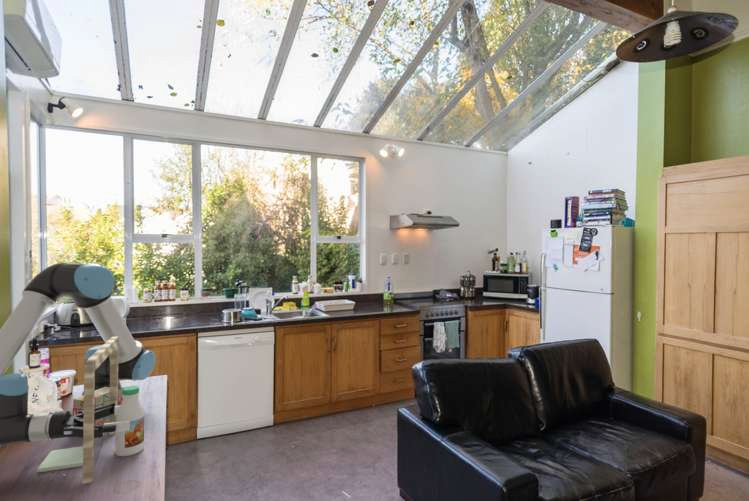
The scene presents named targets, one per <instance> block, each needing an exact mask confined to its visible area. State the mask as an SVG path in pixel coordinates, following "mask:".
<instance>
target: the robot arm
mask: <svg viewBox="0 0 749 501" xmlns="http://www.w3.org/2000/svg"><path fill="white" fill-rule="evenodd" d="M115 281H116V280H115V276H114V274H113V272H112V271H111V270H110V269H109V268H108V267H107V266H105V265H101V264H98V263H97V264H96V263H92V262H88V263H78V262H77V263H76V262H75V263H74V262H58V263H55V264H52V265H49V266H47V267H46V268H44V269H43V270H41V271H40V272H39V273H37V275H35V276H34V277H33V278H32V279H31V280H30V282H29V283H28V284H27V285H26V286H25V288H23V291H22V292H21V296H22V298H21V299H20V301H19V302H18V303H17V305H16V307H15V308H14V309H13V311H12V313H11V314H10V315H9V316H8V318H7V319H6V321H5V322H4V324H3V325H2V326H1V327H0V446H7V445H15V444H22V443H30V442H31V443H32V442H38V443H40V442H42V441H45V440H46V441H47V440H49V439H50V440H54V439H55V440H56V439H63V438H71V437H72V438H83V423H84V410H80V411H78V414H77V415H74V416H73V415H71V411H69V410H63V411H61V410H60V411H54V412H52V411H50V412H49V411H48V412H40V413H29V407H28V406H29V390H30V389H29V381H28V375H27V374H25V373H22V372H18V373H17V372H16V373H14V372H13V373H7V374H5V373H6V372H7V370H8V368H9V367H10V366H11V365H12V363H13V361H14V359H15V358H16V356H17V355H18V354H19V352H20V350H21V349H22V347H23V346H24V345H25V343H26V341H27V340H28V338H29V336H31V334H32V333H33V331H34V329H35V328H36V327H37V325H38V324H39V322H40V321H41V319H42V318H43V316H44V314H45V313H46V311H47V310H48V308H49V307H52V306H54V305H55V304H56V302H57V301H58V300H59V299H60V298H62V297H65V298H71V299H72V301H73V302H74V305H75V306H76V308H78V309H83V310H85V312H86V314H87V315H88V316H89V319H90V320H91V322H92V324H93V325H94V326H95V328H96V330H97V332H98V333H99V335H100V337H101V338H102V340H103V341H104V344H105V343H106V342H107V341H108V340H109V339H110V338H111V337H118V336H119V339H118V389H121V388H123V386H122V384H121V381H120V380H125V381H126V380H129V381H133V382H134V381H143V380H146V379H147V378H149V376H150V375H151V374H152V372H153V370H154V368H155V365H156V360H157V358H156V354H155V352H154V351H153V350H150V349H147V350H146V349H145V348H144V346H143V344H142V343H141V342H140V341H139V340H135V338H134V337H133V335H132V333H131V331H130V330H129V328H128V326H127V324H126V322H125V320H124V319H123V317H122V315H121V314H120V312H119V310H118V307H117V306H116V305H115V302H114V301H113V298H112V296H113V293H114V289H115ZM104 344H100V345H95V346H93V347H92V346H91V348H90V347H89V348H88V349H86V352H85V358H84V362H85V361H87V360H88V359H89V358H90V357H91V356H92V355H93V354H94V353H95V352H96V351H97V350H98V349H99V348H100V347H101V346H103V345H104ZM103 387H110V355H109V356H108V357H107V358H106V359H105V360H104V361H103V363H102V364H101V365H100V366H99V367H98V368H97V369H96V370H95V390H98V389H100V388H103ZM82 395H84V390H82V394H81V396H82ZM119 407H120V406H115V403H112V404H109V405H104V406H100V407H96V408H94V420H97V419H100V418H103V417H106V416H109V415H112V414H114V415H117V412H118V409H119ZM28 413H29V414H28ZM129 430H130V421H121V422H113V423H104V427H103V425H99V424H95V423H94V439H98V438H99V439H101V438H103V437H104V435H103V434H109V433H113V432H121V431H129Z"/></svg>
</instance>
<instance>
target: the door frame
mask: <svg viewBox="0 0 749 501" xmlns="http://www.w3.org/2000/svg"><path fill="white" fill-rule="evenodd" d="M118 339H119V336H118V337H111V338H110V339H109V340H108V341H107V342H106V343H105V342H104V343H103V344H102V345H103V346H101V347H100V348H99V349H98V350H97V351H96V352H95V353H94V354H93V355H92V356H91V357H90V358H89V359H88V360H87V361H85V360H84V364H83V367H84V368H83V391H84V423H83V437H82V439H83V442H82V446H83V466H82V485H85V484H91V483H93V481H94V471H95V469H94V468H95V467H94V462H95V458H94V457H95V438H94V396H95V370H96V369H97V368H98V367H99V366H100V365H101V364H102V363H103V361H104V360H105V359H106V358H107V357H108V356H109V355H110V404H112V403H115V406H118ZM116 416H117V415H114V414H112V415H109V423H113V422H116ZM108 434H109V436H116V432H113V433H108Z"/></svg>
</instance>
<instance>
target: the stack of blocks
mask: <svg viewBox="0 0 749 501" xmlns="http://www.w3.org/2000/svg"><path fill="white" fill-rule="evenodd" d="M125 387H126V386H124V387H122V388H121V389H118V406H120V405H121V403H122V400H123V396H122V389H123V388H125ZM139 397H140V396H138V398H139ZM139 399H140V398H139ZM72 400H73V402H72V405H73V406H72V416H74V415H77V414H78V411H80V410H84V395H82V394H81V395H80V396H77V397H74V398H73V399H72ZM109 404H110V387H103V388H100V389H98V390H95V396H94V408H96V407H100V406H104V405H109ZM94 423H95V424H99V425H103V427H104V423H109V416H106V417H103V418H100V419H97V420H94Z"/></svg>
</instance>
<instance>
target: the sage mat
mask: <svg viewBox="0 0 749 501" xmlns="http://www.w3.org/2000/svg"><path fill="white" fill-rule="evenodd" d="M77 467H83V445H82V446H75V447H67V448H59V449H55V450H54V449H53V450H50V452H49V453H48V454H47V456H46V457H45V458H44V459H43V461H42V462H41V463H40V465H39V466H38V468H37V470H36V472H37V473H43V472H50V471H56V470H63V469H70V468H77Z"/></svg>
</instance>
